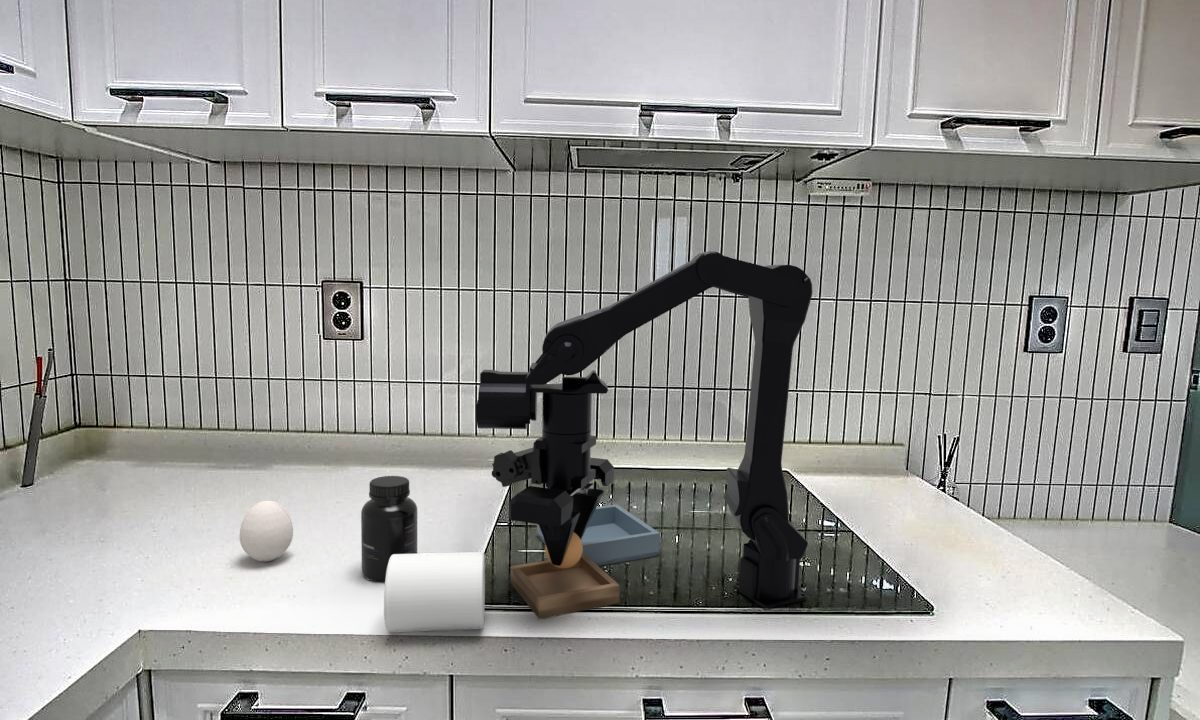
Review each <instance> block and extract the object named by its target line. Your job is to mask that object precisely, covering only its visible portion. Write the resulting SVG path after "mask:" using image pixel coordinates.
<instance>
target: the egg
mask: <svg viewBox="0 0 1200 720" xmlns="http://www.w3.org/2000/svg"><path fill="white" fill-rule="evenodd" d="M293 537H294V525H293V521H292V518H291V516H290V514H289V513H288V512H287V510H286V509H285V508H284V506H282V505H281V504H280V503H278V502H275V501H274V500H273V501H272V500H262V501H260V502H257V503H255V504H254V505H252V506H251V507H250V509H249V510H247V512H246V514H245V515H244V518H243V520H242V521H241V524H240V528H239V543H240V546H241V548H242V550H243V552H244V553H245V554H246V555H247V556H249V557H250V558H251V559H253V560H255V561H259V562H271V561H274V560H276V559H277V558H279V557H281V556H282V555H283V554H284V553H286V551H287V550H288V549H289V547H290V546H291V543H292V541H293Z"/></svg>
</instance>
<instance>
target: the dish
mask: <svg viewBox="0 0 1200 720" xmlns="http://www.w3.org/2000/svg"><path fill="white" fill-rule="evenodd" d="M536 537H537V538H538V539H539V540H540V541H541V542H542V543H543V544H544V545H546V543H545V540H544V537H543V534H542V532H541V529H540V527H539V525H538V524H536ZM660 538H661V533H660V532H659V531H657V530H656V529H654V528H653V527H652V526H650V525H649V524H647V523H646V522H645V521H642V520H641V519H639V518H638V517H637V516H635V515H633V514H632V513H631V512H630V511H628V510H626V509H625V508H624V507H622V506H620V505H619V504H617V503H616V504H610V505H602V506H597V507H596V509H595V511H594V513H593V515H592V517H591V520H590V522H589V524H588V526H587V528H586V530H585V532H584V535H583V537H582V539H581V542H582V546H583V552H582V554H585V555H586V556H587V557H588V558H589V559H591V560H592V561H593V562H594V563H595V564H596V565H597V566H599V567H603V566H606V565H607V566H608V565H612V564H613V565H614V564H618V563H624V562H630V561H635V560H636V561H637V560H641V559H646V558H653V557H658V556H660V543H661V542H660V541H661V539H660Z"/></svg>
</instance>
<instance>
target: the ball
mask: <svg viewBox="0 0 1200 720" xmlns="http://www.w3.org/2000/svg"><path fill="white" fill-rule="evenodd" d="M544 545H545V544H544ZM582 552H583V546H582V542H581V540H580V538H579V536H578V535H577V534H576V533H574V532H573V534H572V537H571V540H570V543H569V546H568V549H567V552H566V554H565V557H564V559H563V562H562V564H561V565H560V566H558V565H554V566H556V567H558V568H569V567H572V566H574V565H575V564H576V563H577V562H578V561H579V560H580V558H581V556H582ZM544 553H545V556H546V558H547V559H546V560H549V562H550V563H551V564H552V562H551V559H550V556H549V553H548V550H547V547H546V545H545V547H544Z"/></svg>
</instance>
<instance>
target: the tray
mask: <svg viewBox="0 0 1200 720" xmlns="http://www.w3.org/2000/svg"><path fill="white" fill-rule="evenodd" d="M510 584H511V585H512V587H513V588H514V590H515V591H516V592H517V594H518V595H519V596H520V597H521V598H522V600H523V601H524V602H525V604H526V605H527V606H528V608H529V609H530V610H531V611H532V612H533V613H534V615H535V616H536V617H537V619H538V620H541V619H542V620H543V619H547V618H552V617H557V616H562V615H567V614H573V613H576V612H577V613H578V612H582V611H586V610H587V611H588V610H591V609H597V608H602V607H603V608H604V607H606V606H611V605H616V604H620V590H621V589H620V588H621V587H620V586H621V585H620V584H619V583H618V582H617V581H616V580H614V579H613V578H612V577H611V576H610V575H608V574H607V573H606V571H604V570H603V569H602V568H601V566H597V565H596V564H595V563H594V562H593V561H592V560H591V559H589V558H588V557H587V556H586V555H585V554H582V556H581V558H580V560H579V561H578V562H577V563H576V564H575V565H574V566H572V567H569V568H558V567H556V566H554V565H553V564H551V563H550V562H549V560H548V559H546V560H541V561H534V562H529V563H528V562H527V563H523V564H517V565H510Z"/></svg>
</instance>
